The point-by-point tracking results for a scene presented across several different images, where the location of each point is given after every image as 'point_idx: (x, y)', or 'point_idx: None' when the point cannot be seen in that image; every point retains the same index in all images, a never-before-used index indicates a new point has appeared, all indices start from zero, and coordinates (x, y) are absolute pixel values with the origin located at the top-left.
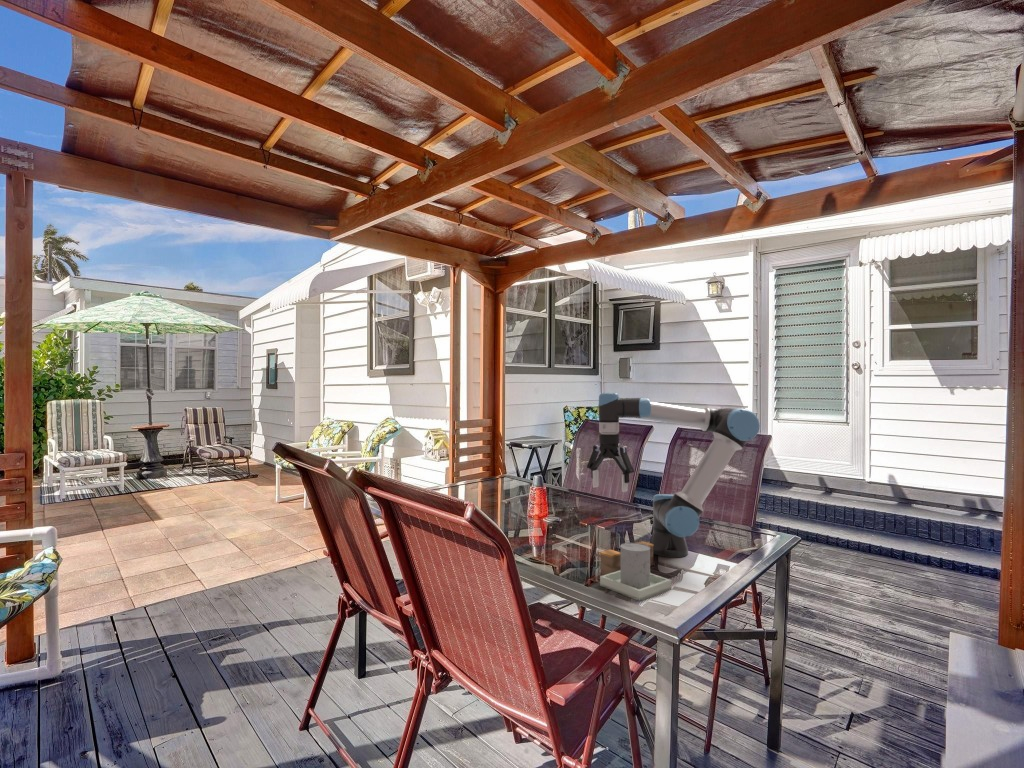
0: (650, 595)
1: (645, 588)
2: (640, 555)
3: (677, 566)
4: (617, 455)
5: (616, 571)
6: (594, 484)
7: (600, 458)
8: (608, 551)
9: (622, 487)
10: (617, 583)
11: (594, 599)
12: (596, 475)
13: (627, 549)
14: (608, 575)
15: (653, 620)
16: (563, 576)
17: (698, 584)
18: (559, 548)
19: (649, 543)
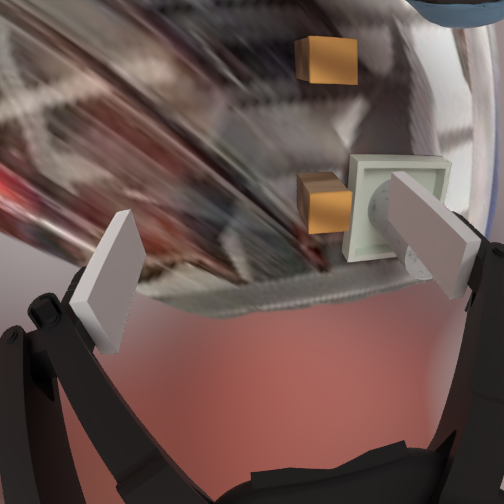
0: None
1: None
2: None
3: (376, 6)
4: (476, 454)
5: (353, 215)
6: (141, 268)
7: (196, 485)
8: (320, 212)
9: (406, 234)
10: (388, 256)
11: (370, 293)
12: (115, 293)
13: (428, 273)
14: (355, 245)
15: None
16: (258, 278)
17: (460, 89)
18: (72, 171)
19: (343, 41)
